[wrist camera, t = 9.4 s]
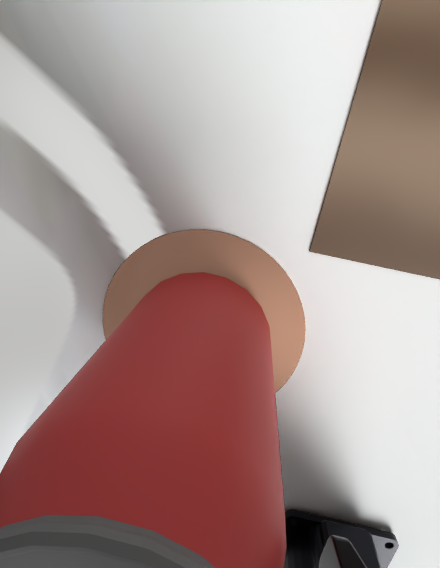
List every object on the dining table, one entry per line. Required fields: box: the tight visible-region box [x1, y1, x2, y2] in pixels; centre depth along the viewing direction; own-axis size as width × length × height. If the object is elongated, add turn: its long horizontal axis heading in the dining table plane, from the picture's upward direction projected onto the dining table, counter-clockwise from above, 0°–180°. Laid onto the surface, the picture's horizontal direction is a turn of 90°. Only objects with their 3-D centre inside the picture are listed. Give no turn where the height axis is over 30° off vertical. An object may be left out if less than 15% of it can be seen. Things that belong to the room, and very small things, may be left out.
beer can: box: [0, 272, 287, 568], centre depth 11 cm, size 7×7×12 cm
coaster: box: [103, 230, 305, 393], centre depth 17 cm, size 10×10×1 cm
